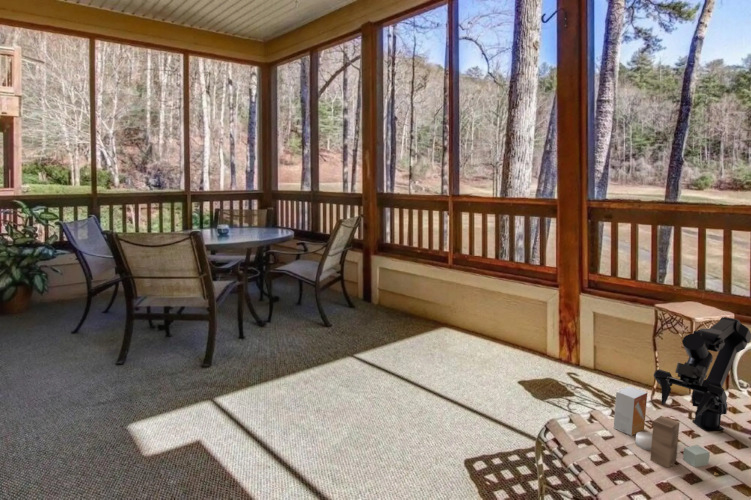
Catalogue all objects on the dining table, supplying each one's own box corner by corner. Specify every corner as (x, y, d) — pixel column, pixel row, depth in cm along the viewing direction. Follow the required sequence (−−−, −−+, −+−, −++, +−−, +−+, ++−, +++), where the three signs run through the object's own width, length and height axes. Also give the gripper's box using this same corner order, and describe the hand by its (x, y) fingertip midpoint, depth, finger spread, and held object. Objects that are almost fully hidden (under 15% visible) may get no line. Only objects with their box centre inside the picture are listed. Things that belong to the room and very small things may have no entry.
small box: (631, 436, 158) (634, 398, 156) (612, 428, 163) (615, 391, 161) (645, 429, 162) (648, 392, 160) (626, 421, 167) (629, 385, 165)
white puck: (649, 439, 156) (650, 431, 155) (661, 450, 150) (662, 441, 149) (631, 440, 155) (632, 432, 155) (643, 451, 149) (643, 442, 149)
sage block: (696, 457, 146) (697, 444, 145) (708, 464, 142) (709, 452, 141) (682, 459, 145) (683, 447, 144) (694, 467, 141) (695, 454, 140)
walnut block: (658, 454, 147) (661, 415, 146) (676, 461, 144) (679, 422, 142) (650, 460, 145) (653, 420, 143) (668, 468, 141) (672, 427, 139)
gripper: (658, 344, 155) (639, 386, 150) (727, 362, 140) (708, 409, 135) (667, 362, 160) (649, 403, 156) (734, 381, 146) (716, 427, 141)
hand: (678, 410), depth 147 cm, fingers open, 9 cm apart
